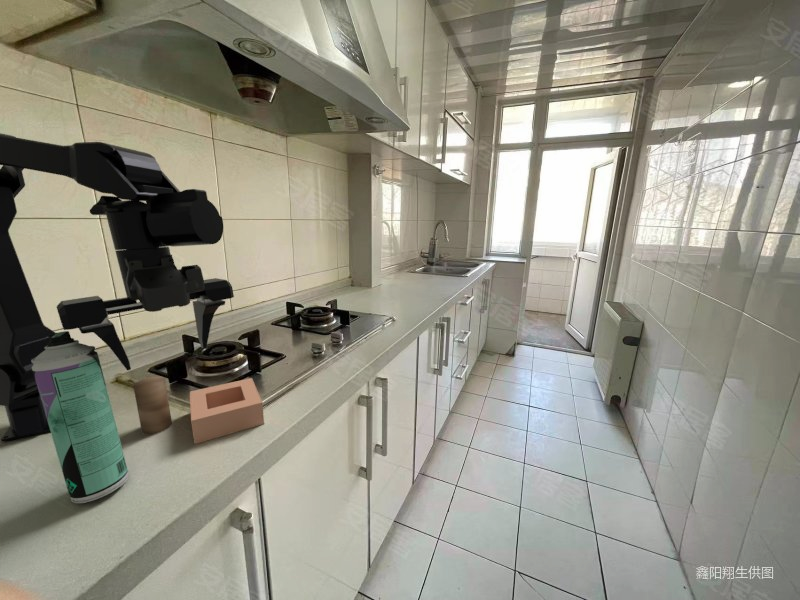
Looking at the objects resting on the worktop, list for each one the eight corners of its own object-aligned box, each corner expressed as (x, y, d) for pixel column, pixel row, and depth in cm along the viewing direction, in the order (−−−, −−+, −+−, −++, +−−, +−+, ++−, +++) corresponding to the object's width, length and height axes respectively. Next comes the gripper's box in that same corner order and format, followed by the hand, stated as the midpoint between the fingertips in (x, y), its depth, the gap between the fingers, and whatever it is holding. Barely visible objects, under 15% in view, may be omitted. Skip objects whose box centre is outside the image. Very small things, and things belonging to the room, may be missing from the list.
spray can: (124, 466, 45) (87, 325, 42) (133, 481, 41) (94, 329, 38) (68, 491, 41) (22, 337, 37) (74, 510, 37) (24, 342, 34)
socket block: (192, 411, 58) (189, 391, 57) (253, 396, 63) (251, 377, 62) (194, 444, 50) (191, 420, 49) (264, 423, 55) (262, 402, 54)
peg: (143, 424, 54) (134, 380, 52) (172, 417, 56) (165, 374, 54) (140, 437, 51) (131, 391, 49) (171, 429, 53) (164, 384, 51)
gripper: (42, 257, 31) (86, 404, 35) (239, 242, 45) (257, 349, 48) (40, 256, 39) (77, 376, 42) (210, 243, 52) (228, 335, 56)
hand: (168, 358), depth 47 cm, fingers open, 9 cm apart
